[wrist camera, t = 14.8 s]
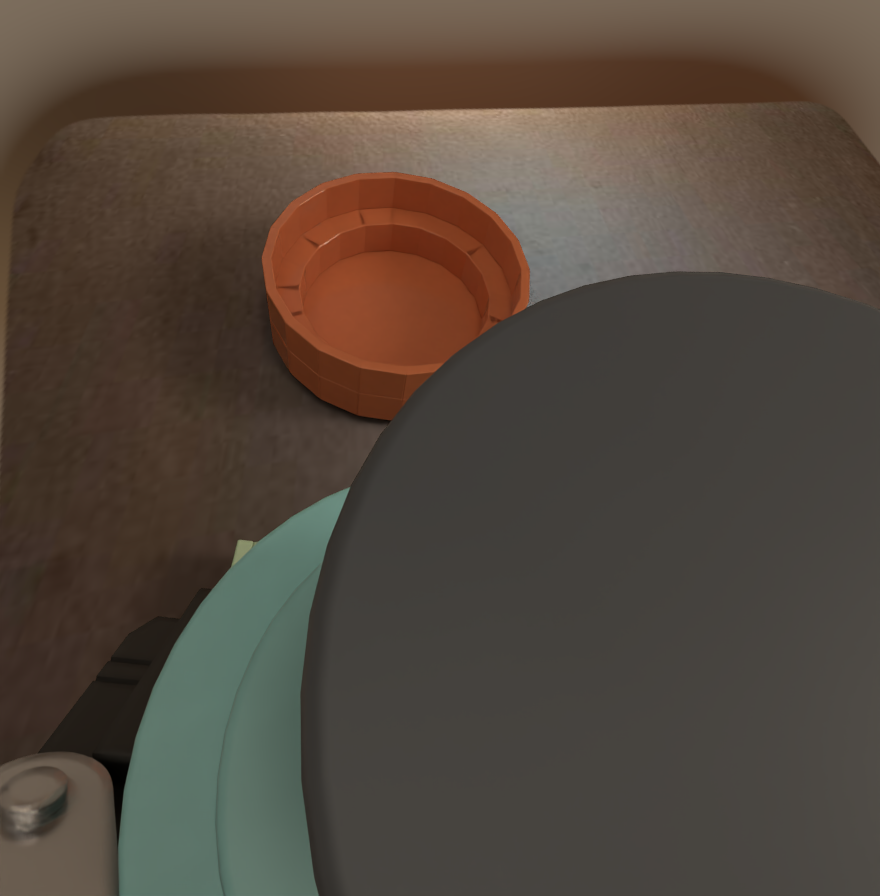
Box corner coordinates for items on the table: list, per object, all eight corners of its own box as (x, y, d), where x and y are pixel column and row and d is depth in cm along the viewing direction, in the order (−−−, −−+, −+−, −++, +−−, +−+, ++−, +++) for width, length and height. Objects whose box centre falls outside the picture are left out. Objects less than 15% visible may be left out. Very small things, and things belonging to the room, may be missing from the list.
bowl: (246, 405, 35) (233, 348, 31) (296, 221, 42) (292, 153, 38) (504, 442, 36) (527, 392, 32) (512, 257, 43) (531, 195, 39)
